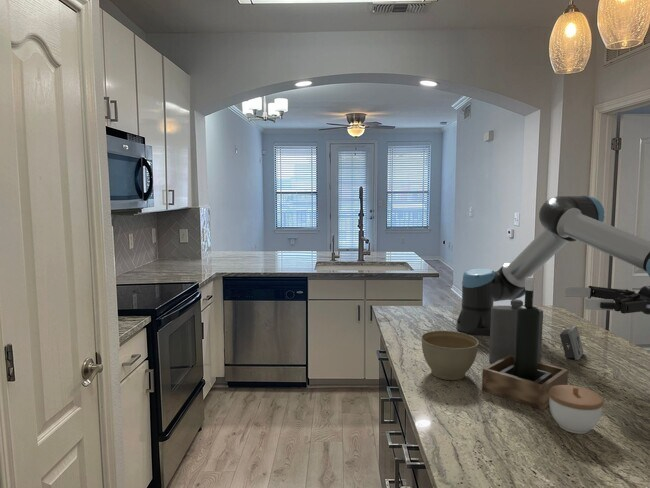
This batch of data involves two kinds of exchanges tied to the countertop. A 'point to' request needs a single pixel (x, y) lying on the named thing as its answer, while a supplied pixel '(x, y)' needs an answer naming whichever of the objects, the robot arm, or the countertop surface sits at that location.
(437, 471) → the countertop surface
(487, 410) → the countertop surface
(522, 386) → the crate
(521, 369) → the wine bottle
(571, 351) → the electrical switch
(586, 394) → the lidded jar
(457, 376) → the planter bowl
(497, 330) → the flask
